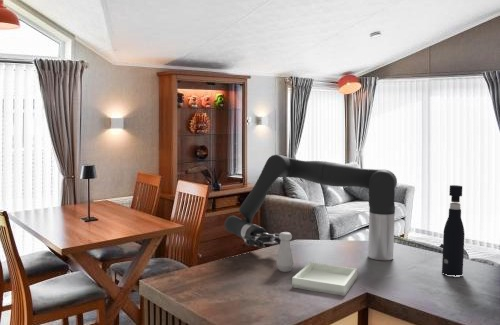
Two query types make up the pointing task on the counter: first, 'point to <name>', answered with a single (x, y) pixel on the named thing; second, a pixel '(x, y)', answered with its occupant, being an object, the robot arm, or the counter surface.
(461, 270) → the black bottle
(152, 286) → the counter surface
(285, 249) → the salt shaker
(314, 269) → the tray
